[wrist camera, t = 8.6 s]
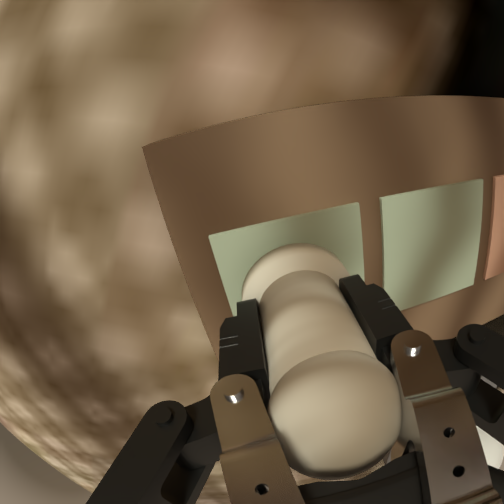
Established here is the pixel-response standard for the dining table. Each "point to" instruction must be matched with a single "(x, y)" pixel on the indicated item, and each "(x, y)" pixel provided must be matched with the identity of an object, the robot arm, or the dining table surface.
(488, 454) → the dome
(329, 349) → the pawn
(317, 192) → the game board
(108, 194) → the dining table surface
